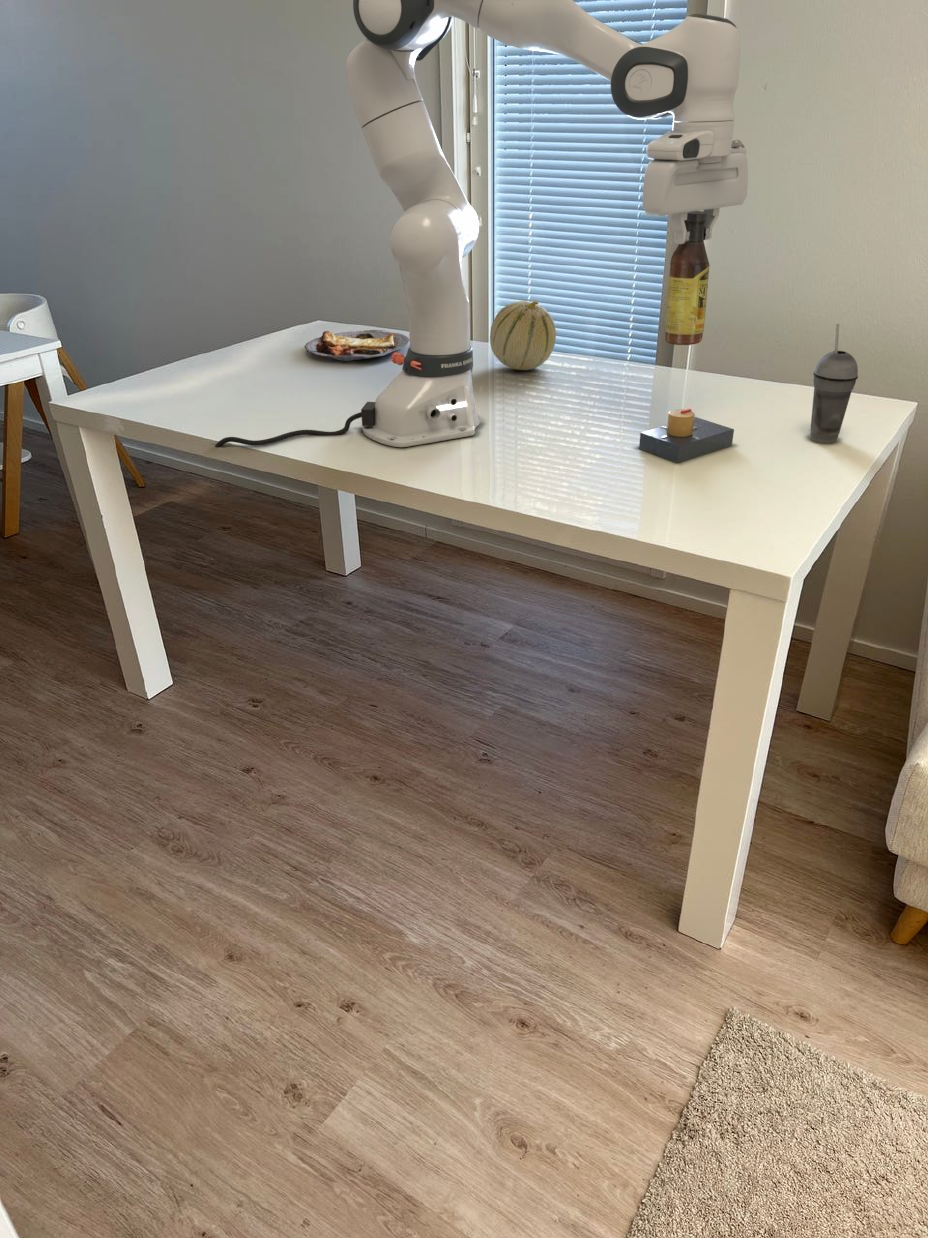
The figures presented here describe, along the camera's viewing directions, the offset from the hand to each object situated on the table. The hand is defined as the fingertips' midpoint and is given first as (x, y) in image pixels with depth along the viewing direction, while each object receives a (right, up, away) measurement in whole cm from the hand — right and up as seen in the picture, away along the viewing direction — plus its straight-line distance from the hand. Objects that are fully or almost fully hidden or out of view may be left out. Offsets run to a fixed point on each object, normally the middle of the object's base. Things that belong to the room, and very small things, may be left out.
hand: (692, 241), depth 145 cm
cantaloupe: (-23, -3, +62) cm, 66 cm away
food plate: (-62, +5, +78) cm, 99 cm away
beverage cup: (+28, -28, +19) cm, 44 cm away
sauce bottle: (0, -14, +8) cm, 16 cm away
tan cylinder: (+1, -27, +14) cm, 31 cm away
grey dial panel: (+3, -29, +17) cm, 34 cm away
